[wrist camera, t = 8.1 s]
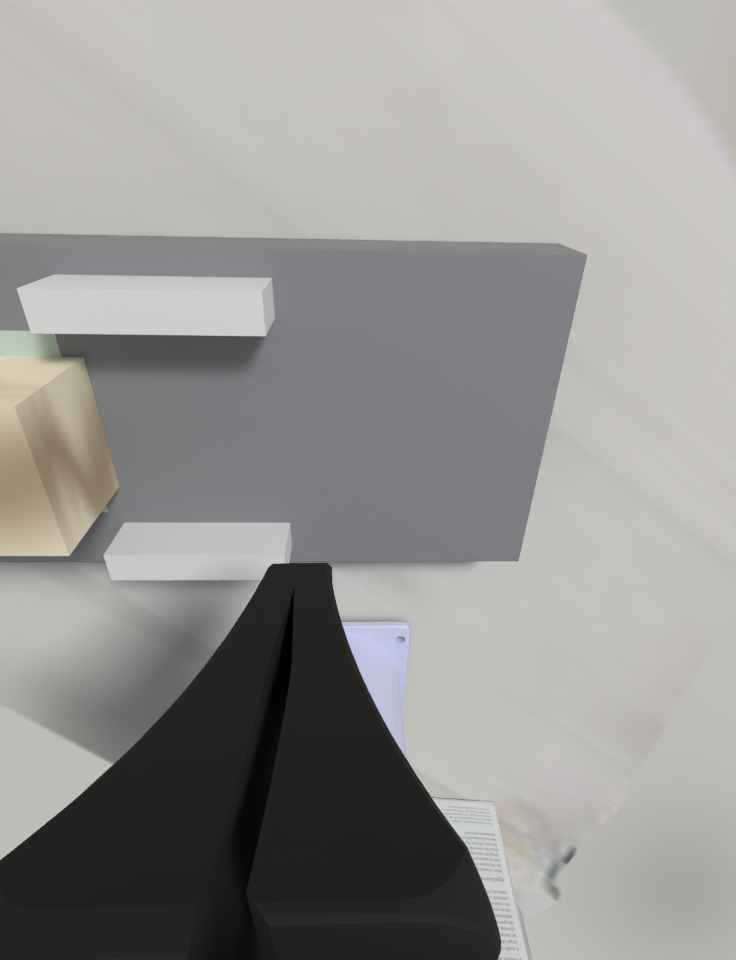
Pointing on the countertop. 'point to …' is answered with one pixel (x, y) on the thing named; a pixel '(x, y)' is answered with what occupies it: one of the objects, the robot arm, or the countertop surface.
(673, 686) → the countertop surface
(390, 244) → the grey long flat tray
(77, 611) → the countertop surface
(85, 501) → the block
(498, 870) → the small box
